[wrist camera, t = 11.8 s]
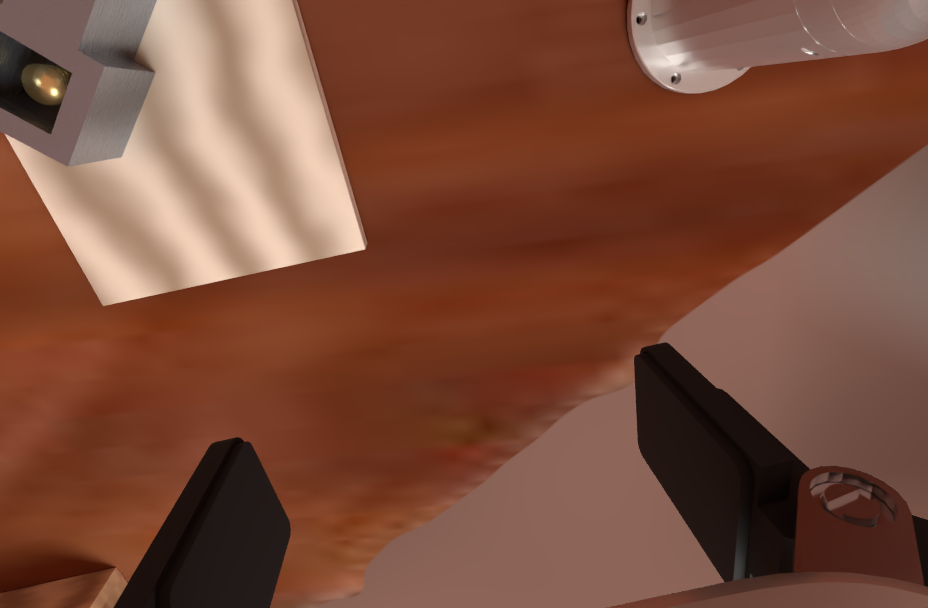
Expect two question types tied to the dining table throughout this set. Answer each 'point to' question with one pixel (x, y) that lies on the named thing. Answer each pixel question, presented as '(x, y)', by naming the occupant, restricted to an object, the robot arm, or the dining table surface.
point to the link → (75, 75)
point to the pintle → (46, 83)
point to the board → (210, 159)
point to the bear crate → (70, 592)
